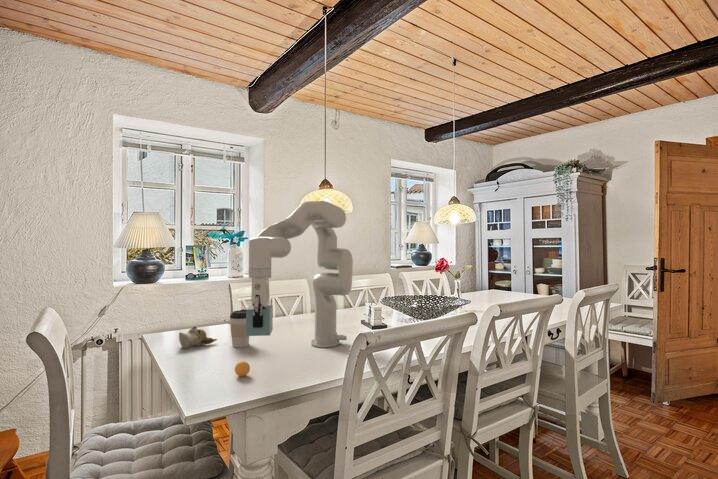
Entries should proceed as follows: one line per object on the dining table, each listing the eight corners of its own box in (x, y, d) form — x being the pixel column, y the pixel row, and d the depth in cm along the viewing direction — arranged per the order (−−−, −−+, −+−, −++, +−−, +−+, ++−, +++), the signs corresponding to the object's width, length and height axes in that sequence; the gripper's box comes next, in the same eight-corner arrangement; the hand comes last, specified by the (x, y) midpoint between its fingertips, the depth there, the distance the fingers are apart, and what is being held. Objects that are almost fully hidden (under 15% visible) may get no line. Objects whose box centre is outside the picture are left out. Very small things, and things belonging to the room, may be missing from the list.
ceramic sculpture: (173, 326, 170) (205, 322, 182) (171, 347, 170) (203, 341, 182) (186, 330, 163) (218, 326, 175) (185, 352, 163) (217, 346, 175)
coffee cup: (245, 348, 168) (245, 313, 168) (225, 347, 170) (225, 312, 170) (254, 342, 177) (254, 309, 177) (236, 341, 179) (236, 308, 179)
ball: (233, 366, 138) (242, 376, 138) (230, 370, 133) (240, 381, 134) (244, 356, 139) (253, 367, 139) (242, 360, 134) (252, 371, 134)
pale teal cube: (272, 330, 141) (272, 305, 141) (269, 335, 133) (269, 309, 133) (250, 330, 140) (250, 305, 140) (246, 336, 132) (246, 309, 132)
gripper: (267, 276, 128) (267, 330, 128) (274, 271, 145) (273, 319, 146) (244, 276, 127) (243, 330, 127) (253, 271, 145) (252, 319, 145)
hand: (259, 324), depth 136 cm, fingers closed on pale teal cube, 7 cm apart
